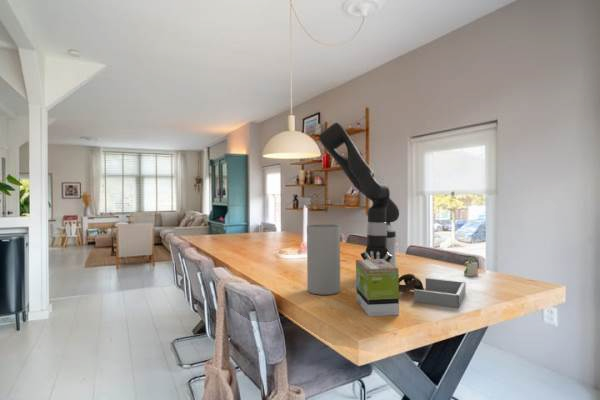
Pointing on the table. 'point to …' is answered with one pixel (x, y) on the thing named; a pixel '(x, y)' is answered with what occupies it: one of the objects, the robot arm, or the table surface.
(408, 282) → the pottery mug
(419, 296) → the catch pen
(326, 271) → the cylinder vase
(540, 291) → the table surface
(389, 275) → the tea box
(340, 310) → the table surface
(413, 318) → the table surface
